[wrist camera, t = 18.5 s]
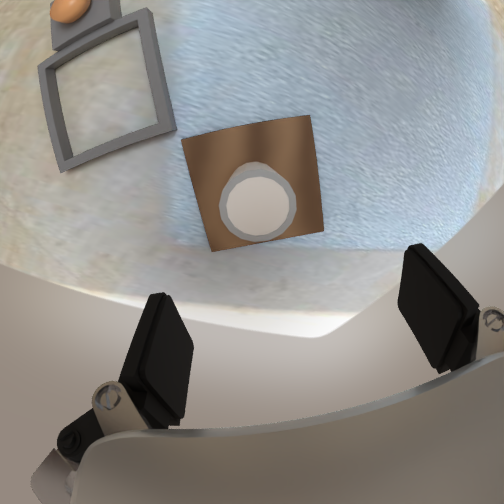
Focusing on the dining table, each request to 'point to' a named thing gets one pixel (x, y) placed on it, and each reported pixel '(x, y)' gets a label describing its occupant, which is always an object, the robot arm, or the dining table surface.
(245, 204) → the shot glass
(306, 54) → the dining table surface
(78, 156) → the housing
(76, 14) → the orange rounded piece
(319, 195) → the walnut mat
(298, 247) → the dining table surface
